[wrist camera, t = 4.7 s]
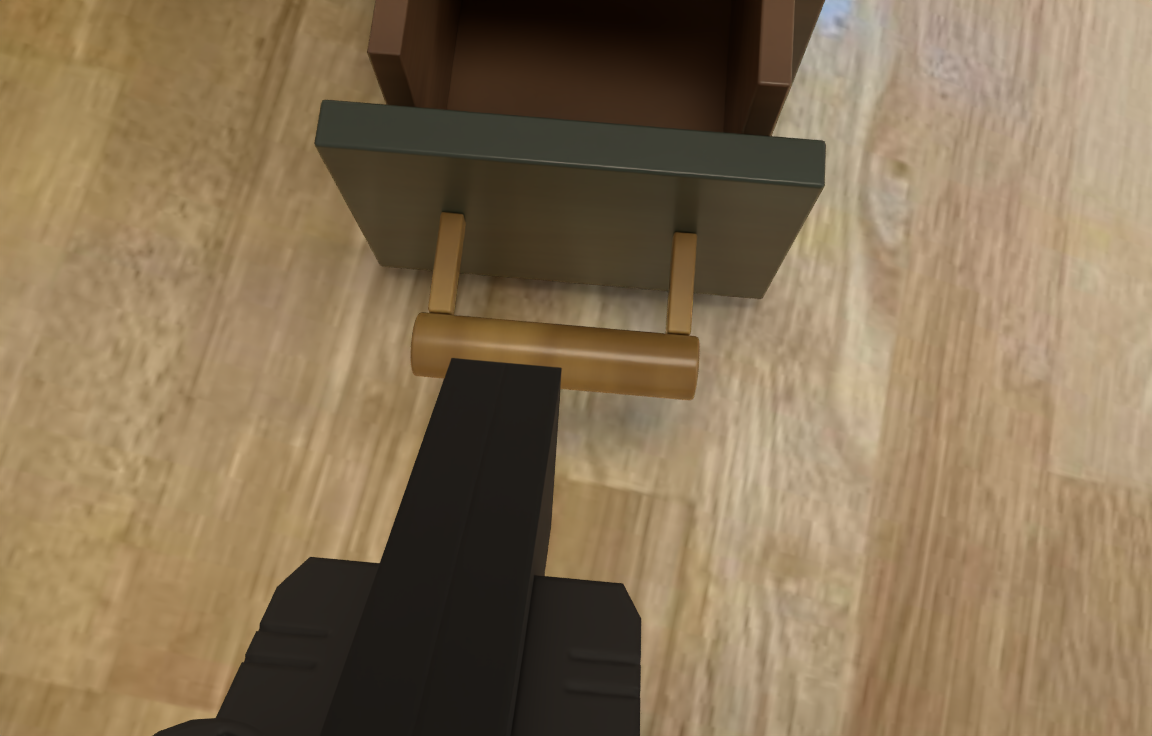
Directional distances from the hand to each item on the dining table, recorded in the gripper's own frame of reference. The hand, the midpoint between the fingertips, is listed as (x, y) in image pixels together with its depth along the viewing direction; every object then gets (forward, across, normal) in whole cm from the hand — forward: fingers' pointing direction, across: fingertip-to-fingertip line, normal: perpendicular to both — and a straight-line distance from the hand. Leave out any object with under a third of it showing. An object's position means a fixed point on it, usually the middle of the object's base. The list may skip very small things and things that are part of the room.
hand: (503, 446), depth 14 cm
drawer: (+19, 0, -2) cm, 19 cm away
